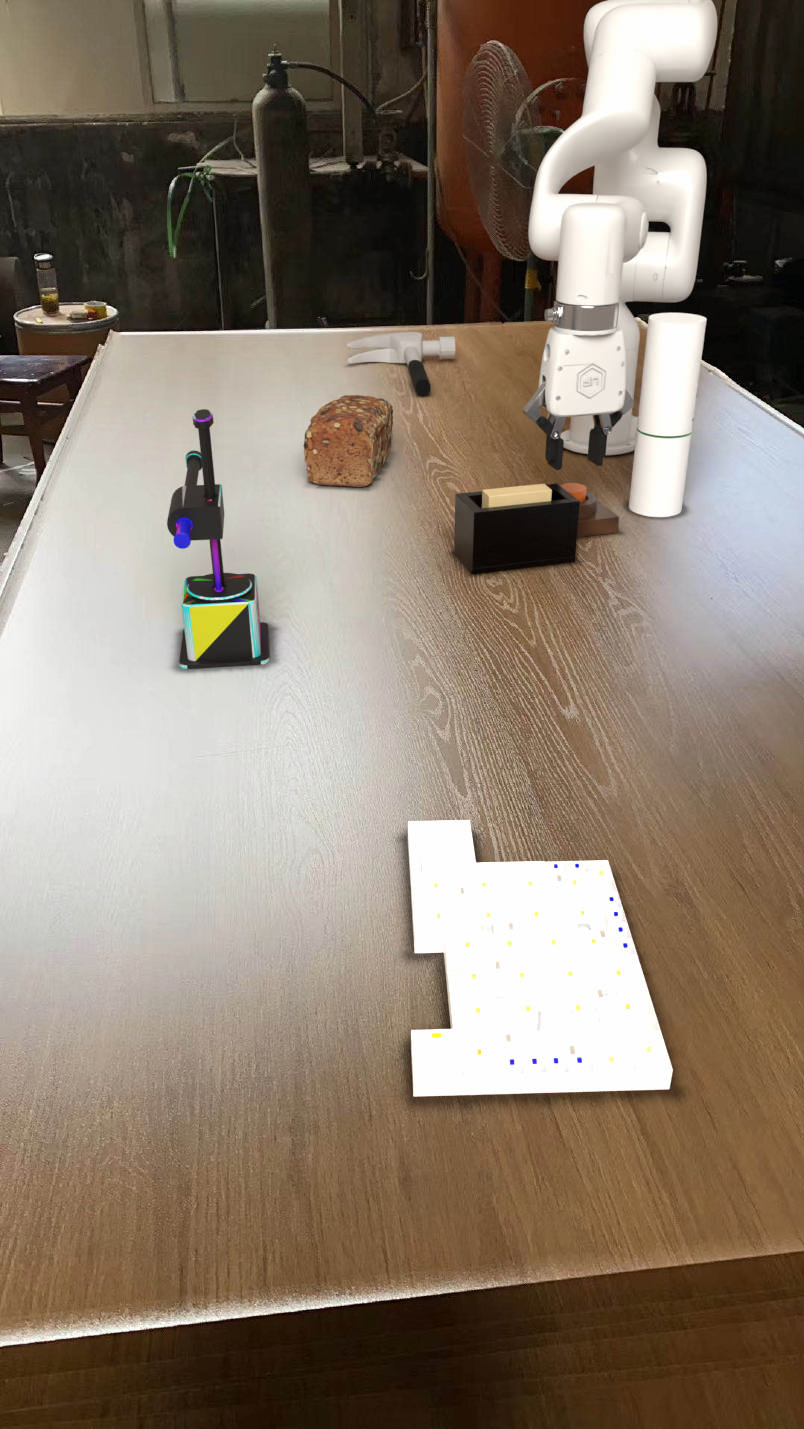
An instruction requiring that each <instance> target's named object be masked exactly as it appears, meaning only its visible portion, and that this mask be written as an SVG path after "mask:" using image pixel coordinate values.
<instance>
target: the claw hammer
mask: <svg viewBox="0 0 804 1429" xmlns="http://www.w3.org/2000/svg"><path fill="white" fill-rule="evenodd" d="M455 338H456V337H455V336H438V339H434V340H432V339H431V340H429V339H428V340H423V334H422V332H420V331H400V332H398V331H396V332H390V333H381V334H375V335H369V336H366V337H362V338H359V339H356V340H352V341H350V342H348V343H347V349H349V350H359V349H370V350H367V351H363V352H360V353H357V354H354V355H352V356H349V358H348V359H347V364H359V363H388V364H389V363H390V364H406V365H407V368H408V374H409V375H410V378H411V381H412V385H413V388H414V390H415V392H416V395H418V396H420V397H426V396H429V394H430V392H431V382H430V379H429V377H428V375H427V372H426V369H425V367H424V364H423V362H422V361H423V357H438V359H439V360H454V359H455V357H456V348H457V346H456V339H455Z"/></svg>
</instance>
